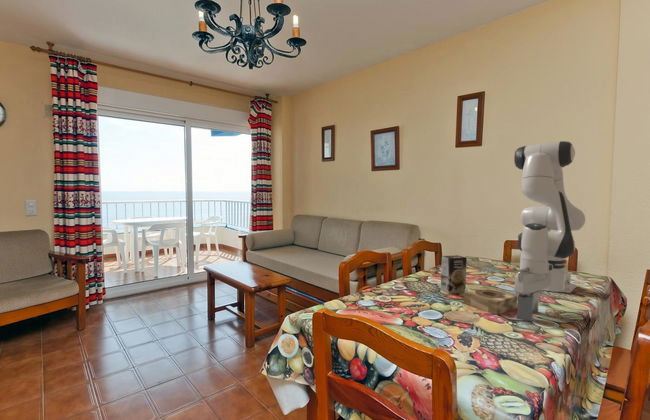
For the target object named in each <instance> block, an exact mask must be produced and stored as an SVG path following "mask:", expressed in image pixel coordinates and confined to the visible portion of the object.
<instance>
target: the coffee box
mask: <svg viewBox="0 0 650 420" xmlns="http://www.w3.org/2000/svg"><path fill="white" fill-rule="evenodd" d="M467 260H468V259H467V257H466V256H462V255H441V270H440V291H442V292H444V293H446V294H449V295H450V294H462V293H463V294H464V292H465V291H466V284H467V283H466V282H467V280H466V279H467Z"/></svg>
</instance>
